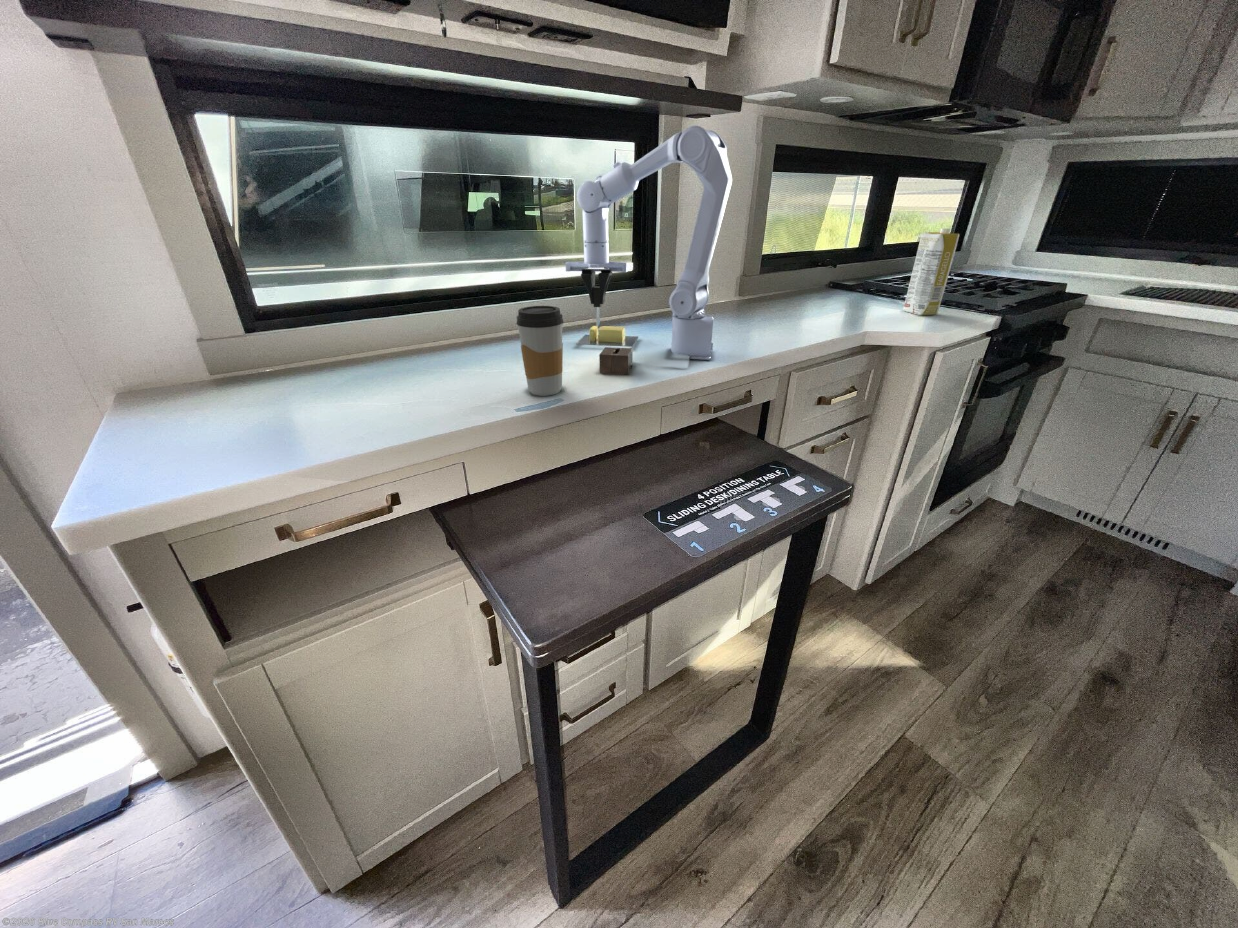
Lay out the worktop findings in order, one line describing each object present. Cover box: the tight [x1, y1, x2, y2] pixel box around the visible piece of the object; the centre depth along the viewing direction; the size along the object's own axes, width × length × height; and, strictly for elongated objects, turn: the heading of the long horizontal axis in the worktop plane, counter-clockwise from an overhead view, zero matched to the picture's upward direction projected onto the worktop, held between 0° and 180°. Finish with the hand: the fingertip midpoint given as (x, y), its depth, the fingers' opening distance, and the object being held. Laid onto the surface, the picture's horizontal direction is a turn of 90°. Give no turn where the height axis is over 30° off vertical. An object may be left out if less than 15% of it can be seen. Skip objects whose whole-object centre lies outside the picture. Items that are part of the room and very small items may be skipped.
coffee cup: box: [516, 305, 564, 397], centre depth 93 cm, size 8×8×15 cm
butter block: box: [598, 325, 626, 343], centre depth 125 cm, size 6×4×3 cm, turn 80°
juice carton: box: [902, 227, 960, 316], centre depth 153 cm, size 9×8×24 cm
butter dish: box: [576, 334, 639, 348], centre depth 127 cm, size 14×10×1 cm
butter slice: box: [588, 325, 599, 342], centre depth 126 cm, size 1×4×3 cm, turn 170°
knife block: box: [598, 346, 634, 376], centre depth 107 cm, size 6×6×4 cm
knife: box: [593, 285, 603, 327], centre depth 122 cm, size 2×3×9 cm, turn 170°
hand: (597, 303), depth 122 cm, fingers closed on knife, 1 cm apart
